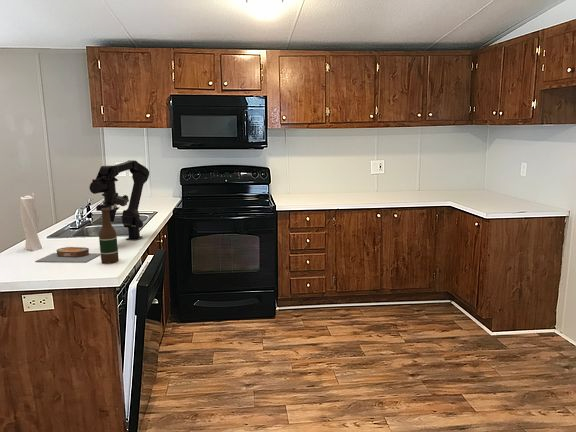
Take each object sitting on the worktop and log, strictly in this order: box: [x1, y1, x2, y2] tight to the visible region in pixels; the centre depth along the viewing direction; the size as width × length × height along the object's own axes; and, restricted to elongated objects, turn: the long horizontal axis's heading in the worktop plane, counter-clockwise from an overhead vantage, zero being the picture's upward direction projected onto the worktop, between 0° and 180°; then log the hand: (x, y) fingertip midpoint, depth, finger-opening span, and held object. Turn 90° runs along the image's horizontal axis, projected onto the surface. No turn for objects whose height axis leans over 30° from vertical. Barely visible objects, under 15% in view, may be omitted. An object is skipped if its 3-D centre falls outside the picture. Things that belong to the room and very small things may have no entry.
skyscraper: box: [20, 192, 43, 251], centre depth 232 cm, size 8×8×28 cm
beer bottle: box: [98, 208, 120, 265], centre depth 207 cm, size 8×8×24 cm
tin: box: [56, 246, 90, 257], centre depth 220 cm, size 15×3×8 cm
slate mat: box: [35, 252, 101, 264], centre depth 216 cm, size 14×24×1 cm, turn 84°
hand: (112, 222), depth 236 cm, fingers closed
